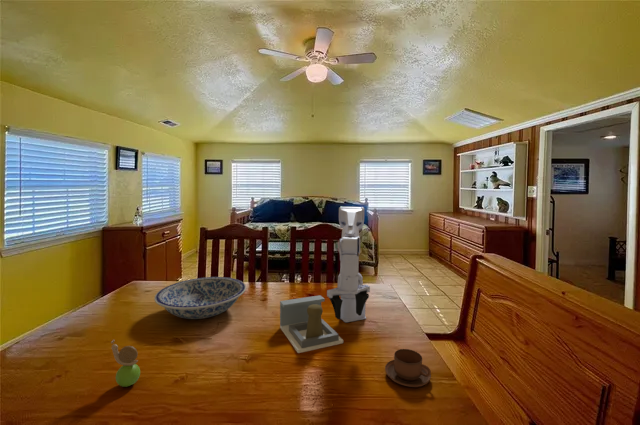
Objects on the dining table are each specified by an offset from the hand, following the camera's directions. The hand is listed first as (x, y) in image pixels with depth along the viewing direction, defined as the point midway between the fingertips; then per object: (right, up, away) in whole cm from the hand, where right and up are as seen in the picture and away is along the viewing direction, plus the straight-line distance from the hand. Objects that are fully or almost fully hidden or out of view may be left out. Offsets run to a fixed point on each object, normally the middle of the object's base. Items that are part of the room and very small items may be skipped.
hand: (348, 316), depth 99 cm
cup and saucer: (+15, -12, -14) cm, 24 cm away
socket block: (-12, -10, +8) cm, 18 cm away
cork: (-11, -9, +5) cm, 15 cm away
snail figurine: (-59, -12, -19) cm, 63 cm away
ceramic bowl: (-57, -8, +27) cm, 63 cm away
